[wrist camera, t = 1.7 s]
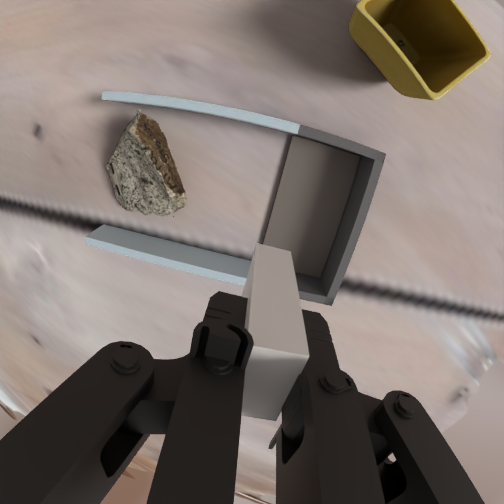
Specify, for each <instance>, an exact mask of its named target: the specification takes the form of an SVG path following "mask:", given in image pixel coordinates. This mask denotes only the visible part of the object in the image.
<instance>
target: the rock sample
mask: <svg viewBox="0 0 504 504" xmlns="http://www.w3.org/2000/svg"><path fill="white" fill-rule="evenodd" d="M143 111H144V110H143ZM137 112H138V113H137V115H136V116H135V117H134V116H133V117H134V118H133V120H132V121H131V122H130V123H129V124H128V126H127V128H126V129H125V130H124V133H123V135H121V137H120V140H119V142H118V144H117V145H116V147H115V150H114V151H113V153H112V155H111V157H110V161H109V162H108V163H107V165H106V168H107V170H108V173H109V177H110V178H111V181H112V183H113V189H114V192H115V197H116V199H117V200H118V202H119V203H120V204H121V205H122V207H123V208H124V209H126V210H129V211H140V212H141V213H143V214H144V215H148V214H150V213H154V214H156V215H161V216H164V215H167V214H171V213H173V212H176V211H177V210H178V209H181V208H183V207H184V206H185V202H186V195H185V190H184V188H183V185H182V182H181V179H180V176H179V174H178V172H177V168H176V166H175V163H174V160H173V158H172V156H171V153H170V150H169V148H168V144H167V140H166V137H165V136H164V134H163V132H161V130H160V127H159V125H158V123H157V122H156V121H155V120H154V119H152V118H150V117H147V116H146V115H144V114H143V113H141V109H140V108H137ZM187 191H188V190H187ZM173 217H174V216H173ZM147 220H148V219H147Z"/></svg>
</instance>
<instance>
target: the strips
mask: <svg viewBox="0 0 504 504" xmlns="http://www.w3.org/2000/svg"><path fill="white" fill-rule="evenodd" d="M101 100H109V101H115V102H123V103H133V104H142V105H150V106H158V107H165V108H172V109H179V110H185V111H191V112H197V113H202V114H208V115H213V116H218V117H223V118H228V119H233V120H237V121H242V122H246V123H251V124H255V125H259V126H263V127H267V128H271V129H275V130H279V131H283V132H286V133H290V134H298V130H299V127H300V124H296V123H293V122H289V121H285V120H282V119H278V118H274V117H270V116H266V115H262V114H258V113H254V112H249V111H245V110H240V109H236V108H231V107H226V106H221V105H215V104H210V103H204V102H199V101H193V100H186V99H180V98H173V97H165V96H157V95H148V94H139V93H128V92H114V91H103V94H102V99H101ZM85 244H86V245H90V246H93V247H97V248H100V249H104V250H107V251H111V252H114V253H118V254H122V255H125V256H129V257H132V258H136V259H140V260H143V261H147V262H151V263H155V264H158V265H162V266H166V267H170V268H174V269H177V270H181V271H185V272H189V273H193V274H197V275H201V276H205V277H209V278H213V279H217V280H221V281H225V282H229V283H233V284H237V285H242V286H245V283H246V279H247V276H248V272H249V268H250V264H251V261H249V260H245V259H241V258H237V257H233V256H229V255H225V254H221V253H217V252H213V251H209V250H205V249H201V248H196V247H192V246H188V245H184V244H180V243H176V242H172V241H168V240H164V239H160V238H156V237H152V236H148V235H144V234H140V233H136V232H133V231H129V230H125V229H121V228H117V227H113V226H109V225H105V224H103V225H102V226H100V227H99V228H97V229H96V230H94V231H93V232H91V233H90V234H88V235H87V236H85Z"/></svg>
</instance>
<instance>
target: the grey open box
mask: <svg viewBox="0 0 504 504" xmlns="http://www.w3.org/2000/svg"><path fill="white" fill-rule="evenodd" d="M294 135H297V136H301V137H304V138H307V139H311V140H314V141H317V142H321V143H324V144H327V145H330V146H333V147H336V148H339V149H342V150H345V151H348V152H351V153H354V154H357V155H360V156H357V155H354V154H351V153H348V152H345V151H342V150H339V149H336V148H333V147H330V146H327V145H324V144H321V143H317V142H314V141H311V140H307V139H304V138H301V137H297V136H294ZM294 135H293V136H292V139H291V143H290V147H289V150H288V154H287V158H286V161H285V165H284V169H283V172H282V176H281V180H280V183H279V187H278V191H277V194H276V198H275V202H274V205H273V209H272V212H271V216H270V220H269V223H268V227H267V231H266V234H265V238H264V241H263V245H267V246H271V247H275V248H279V249H283V250H287V251H291V255H292V260H293V265H294V271H295V276H296V281H297V287H298V292H299V298H300V299H303V300H307V301H312V302H316V303H321V304H326V305H330V306H332V304H333V301H334V299H335V297H336V294H337V292H338V289H339V287H340V285H341V282H342V280H343V277H344V275H345V272H346V270H347V267H348V265H349V262H350V259H351V257H352V254H353V252H354V249H355V246H356V244H357V241H358V238H359V235H360V233H361V230H362V227H363V224H364V221H365V219H366V216H367V213H368V210H369V207H370V204H371V201H372V198H373V195H374V192H375V189H376V186H377V182H378V179H379V176H380V173H381V169H382V166H383V163H384V159H385V156H386V154H385V153H383V152H380V151H377V150H375V149H372V148H370V147H367V146H364V145H361V144H359V143H356V142H353V141H350V140H347V139H344V138H341V137H339V136H335V135H332V134H329V133H326V132H323V131H320V130H317V129H313V128H310V127H307V126H303V125H300V127H299V130H298V134H294Z"/></svg>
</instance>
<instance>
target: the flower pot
mask: <svg viewBox="0 0 504 504" xmlns="http://www.w3.org/2000/svg"><path fill="white" fill-rule="evenodd" d="M349 32H350V35H351V37H352V38H353V40H354V41H355V42H356V43H357V44H358V46H359V47H360V48H361V49H362V50H363V51H364V52H365V53H366V55H367V56H368V57H369V58H370V59H371V60H372V62H373V63H374V64H375V65H376V66H377V68H378V69H379V70H380V71H381V73H382V74H383V75H384V77H385V78H386V79H387V80H388V82H389V83H390V84H391V85H392V87H393V88H394V89H395V90H396V91H398V92H399V93H400V94H402V95H404V96H407V97H412V98H420V99H428V100H437V99H439V98H440V97H442V96H443V95H444V94H445V93H447V92H448V91H449V90H450V89H452V88H453V87H454V86H455V85H456V84H458V83H459V82H460V81H461V80H463V79H464V78H465V77H466V76H468V75H469V74H470V73H471V72H472V71H474V70H475V69H476V68H478V67H479V66H480V65H482V64H483V63H484V62H485V61H487V60H488V58H489V57H490V55H491V54H490V51H489V49H488V48H487V46H486V44H485V43H484V41H483V40H482V38H481V37H480V35H479V34H478V32H477V31H476V29H475V28H474V27H473V25H472V24H471V22H470V21H469V20H468V18H467V17H466V16H465V14H464V13H463V12H462V11H461V9H460V8H459V7H458V5H457V4H456V3H455V2H454V0H360V1H359V2H357V4H356V6H355V9H354V11H353V14H352V17H351V20H350V23H349ZM399 41H401V42H403V46H401V45H400V44H399Z"/></svg>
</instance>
